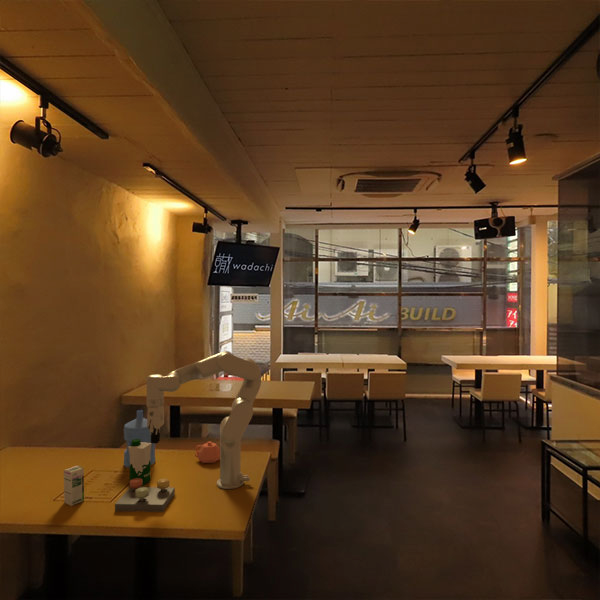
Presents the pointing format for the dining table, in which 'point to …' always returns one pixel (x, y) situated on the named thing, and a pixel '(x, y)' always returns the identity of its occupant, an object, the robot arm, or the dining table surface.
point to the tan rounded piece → (163, 484)
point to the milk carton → (140, 460)
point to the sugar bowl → (208, 452)
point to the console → (145, 500)
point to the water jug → (137, 436)
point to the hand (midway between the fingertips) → (155, 442)
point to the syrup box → (73, 485)
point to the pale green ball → (142, 493)
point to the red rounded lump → (136, 483)
